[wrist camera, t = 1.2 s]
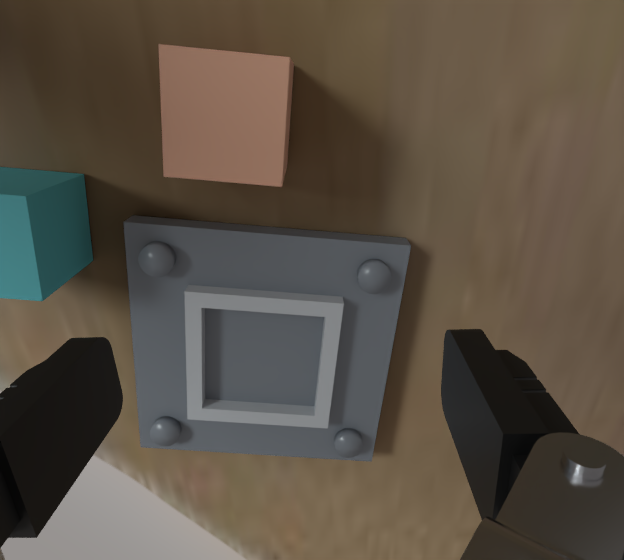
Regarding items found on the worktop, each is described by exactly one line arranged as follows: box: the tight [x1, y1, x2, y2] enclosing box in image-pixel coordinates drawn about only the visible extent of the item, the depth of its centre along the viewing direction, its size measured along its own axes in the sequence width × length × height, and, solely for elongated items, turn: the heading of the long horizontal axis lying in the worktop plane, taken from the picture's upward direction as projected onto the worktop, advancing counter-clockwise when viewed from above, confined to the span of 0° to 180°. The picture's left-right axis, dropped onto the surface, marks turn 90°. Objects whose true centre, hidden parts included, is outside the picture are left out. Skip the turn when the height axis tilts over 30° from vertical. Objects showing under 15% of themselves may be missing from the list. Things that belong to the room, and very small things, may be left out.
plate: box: [124, 215, 411, 461], centre depth 30 cm, size 17×17×2 cm
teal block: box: [0, 167, 93, 301], centre depth 25 cm, size 6×6×6 cm
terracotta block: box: [159, 44, 294, 187], centre depth 23 cm, size 6×6×6 cm
